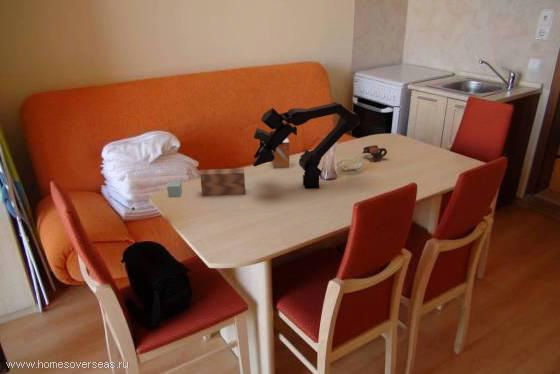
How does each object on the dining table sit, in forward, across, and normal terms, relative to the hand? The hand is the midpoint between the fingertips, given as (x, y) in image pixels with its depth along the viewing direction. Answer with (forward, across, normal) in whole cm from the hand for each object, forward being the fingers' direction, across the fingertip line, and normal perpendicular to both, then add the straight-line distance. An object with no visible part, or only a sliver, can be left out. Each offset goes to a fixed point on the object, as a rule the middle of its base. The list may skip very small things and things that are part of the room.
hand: (254, 161), depth 181 cm
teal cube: (+33, +2, -15) cm, 36 cm away
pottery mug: (-31, -34, +52) cm, 70 cm away
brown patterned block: (+19, +2, 0) cm, 19 cm away
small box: (+2, -28, +18) cm, 33 cm away
